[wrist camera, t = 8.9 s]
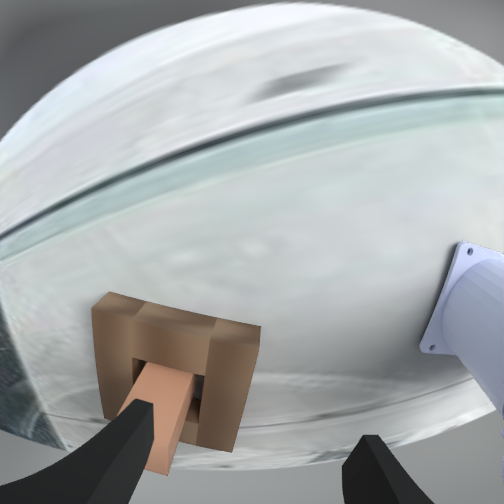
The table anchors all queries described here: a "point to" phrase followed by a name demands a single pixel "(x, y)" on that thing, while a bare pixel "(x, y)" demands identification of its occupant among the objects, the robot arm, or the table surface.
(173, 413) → the peg
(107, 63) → the table surface
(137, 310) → the socket
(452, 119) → the table surface
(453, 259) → the robot arm
